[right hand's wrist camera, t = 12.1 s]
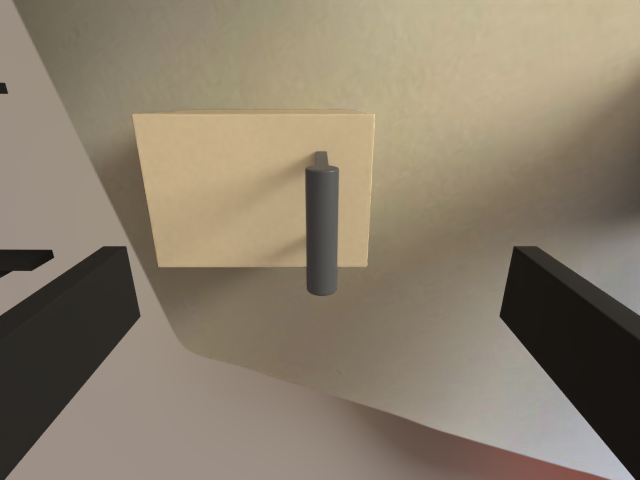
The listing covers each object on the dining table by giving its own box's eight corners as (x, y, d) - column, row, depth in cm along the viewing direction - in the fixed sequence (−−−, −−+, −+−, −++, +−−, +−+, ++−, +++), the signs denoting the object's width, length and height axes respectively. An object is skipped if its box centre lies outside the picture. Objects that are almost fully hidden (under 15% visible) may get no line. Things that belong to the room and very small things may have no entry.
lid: (373, 113, 23) (401, 120, 15) (365, 262, 26) (385, 331, 18) (137, 113, 23) (40, 120, 15) (162, 262, 26) (95, 332, 18)
